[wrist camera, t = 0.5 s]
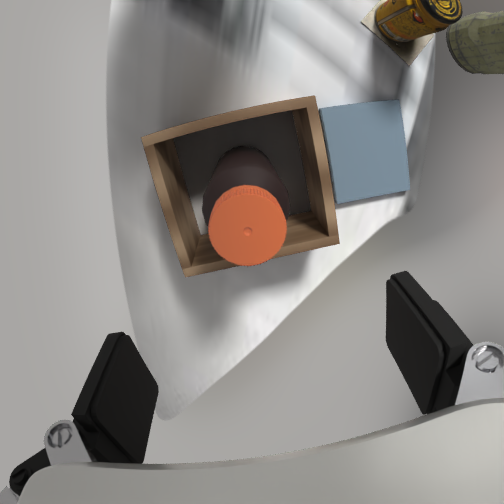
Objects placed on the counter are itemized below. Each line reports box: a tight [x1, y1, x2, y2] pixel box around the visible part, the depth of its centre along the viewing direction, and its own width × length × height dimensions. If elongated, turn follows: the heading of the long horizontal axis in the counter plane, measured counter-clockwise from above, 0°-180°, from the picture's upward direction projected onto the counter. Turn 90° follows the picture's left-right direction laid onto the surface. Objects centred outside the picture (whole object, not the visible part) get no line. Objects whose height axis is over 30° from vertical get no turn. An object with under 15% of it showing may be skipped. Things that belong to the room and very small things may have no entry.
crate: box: [141, 96, 340, 277], centre depth 34 cm, size 15×16×9 cm
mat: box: [319, 100, 410, 204], centre depth 37 cm, size 12×10×1 cm
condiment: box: [361, 0, 462, 66], centre depth 25 cm, size 7×8×12 cm
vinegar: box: [202, 146, 290, 266], centre depth 29 cm, size 7×7×20 cm
